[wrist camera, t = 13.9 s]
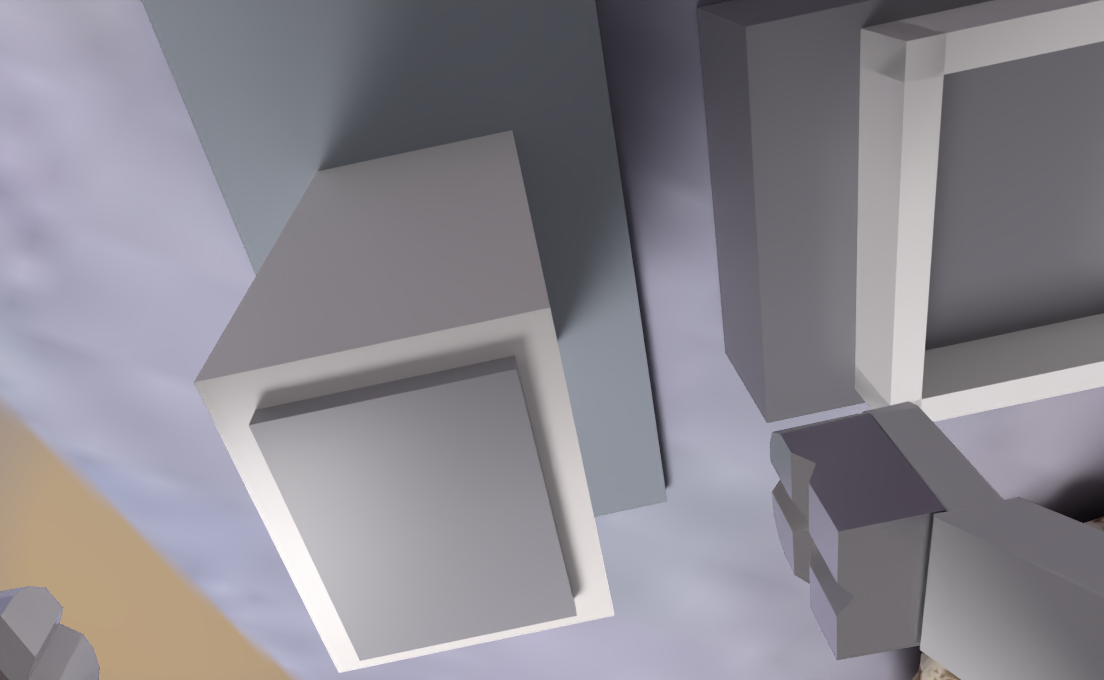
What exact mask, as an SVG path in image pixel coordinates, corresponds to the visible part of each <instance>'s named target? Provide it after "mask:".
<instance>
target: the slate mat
mask: <svg viewBox="0 0 1104 680" xmlns="http://www.w3.org/2000/svg"><path fill="white" fill-rule="evenodd" d="M142 3H143V5H144V7H145V10H146V12H147V15H148V17H149V19H150V22H151V24H152V27H153V29H154V31H155V34H156V36H157V39H158V41H159V43H160V46H161V48H162V51H163V53H164V56H165V58H166V60H167V63H168V65H169V68H170V70H171V72H172V75H173V77H174V80H175V82H176V84H177V87H178V89H179V92H180V94H181V96H182V99H183V101H184V104H185V106H186V108H187V111H188V113H189V116H190V118H191V120H192V123H193V125H194V128H195V130H196V132H197V135H198V137H199V140H200V142H201V144H202V147H203V149H204V152H205V154H206V156H207V159H208V161H209V164H210V166H211V169H212V171H213V173H214V176H215V178H216V181H217V183H218V185H219V188H220V190H221V193H222V195H223V197H224V200H225V202H226V205H227V207H228V209H229V212H230V214H231V217H232V219H233V221H234V224H235V226H236V229H237V231H238V233H239V236H240V238H241V241H242V243H243V245H244V248H245V250H246V253H247V255H248V257H249V260H250V262H251V265H252V267H253V269H254V272H255V274H256V275H257V274H258V272H259V270H260V269H261V267H262V265H263V263H264V262H265V260H266V258H267V257H268V255H269V253H270V252H271V250H272V248H273V246H274V245H275V243H276V241H277V240H278V238H279V236H280V234H281V233H282V231H283V229H284V228H285V226H286V224H287V222H288V221H289V219H290V217H291V216H292V214H293V212H294V211H295V209H296V207H297V205H298V204H299V202H300V200H301V199H302V197H303V195H304V193H305V192H306V190H307V188H308V187H309V185H310V183H311V181H312V180H313V178H314V176H315V175H316V173H317V171H321V170H326V169H331V168H335V167H340V166H345V165H349V164H354V163H359V162H364V161H368V160H373V159H378V158H383V157H387V156H392V155H397V154H401V153H406V152H411V151H416V150H420V149H425V148H430V147H435V146H439V145H444V144H449V143H453V142H458V141H463V140H468V139H472V138H477V137H482V136H487V135H491V134H496V133H501V132H505V131H510V130H512V131H513V136H514V140H515V145H516V150H517V154H518V159H519V164H520V168H521V173H522V178H523V182H524V187H525V192H526V196H527V201H528V206H529V210H530V215H531V220H532V224H533V229H534V234H535V238H536V243H537V248H538V252H539V257H540V262H541V266H542V271H543V276H544V281H545V285H546V290H547V295H548V299H549V304H550V309H551V313H552V318H553V323H554V328H555V332H556V337H557V342H558V347H559V352H560V356H561V361H562V366H563V371H564V376H565V380H566V385H567V390H568V395H569V399H570V404H571V409H572V414H573V419H574V423H575V428H576V433H577V438H578V442H579V447H580V452H581V457H582V462H583V466H584V471H585V476H586V481H587V486H588V490H589V495H590V500H591V505H592V509H593V514H594V517H595V516H600V515H605V514H610V513H615V512H619V511H624V510H629V509H634V508H639V507H643V506H648V505H653V504H658V503H662V502H667V497H666V490H665V483H664V476H663V469H662V462H661V455H660V448H659V441H658V434H657V427H656V420H655V413H654V406H653V399H652V392H651V385H650V378H649V371H648V365H647V358H646V351H645V344H644V337H643V330H642V323H641V316H640V309H639V302H638V295H637V288H636V281H635V274H634V267H633V260H632V253H631V246H630V239H629V232H628V225H627V218H626V211H625V204H624V197H623V190H622V183H621V176H620V169H619V162H618V155H617V149H616V142H615V135H614V128H613V121H612V114H611V107H610V100H609V93H608V86H607V79H606V72H605V65H604V58H603V51H602V44H601V37H600V30H599V23H598V16H597V9H596V2H595V0H142Z"/></svg>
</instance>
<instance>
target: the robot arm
mask: <svg viewBox="0 0 1104 680" xmlns="http://www.w3.org/2000/svg"><path fill="white" fill-rule="evenodd" d="M770 458H771V463H772V465H773V466H774V468H775V470H776V472H777V474H778V476H779V478H780V481H779V482H778V484H777V485H776V487H775V488H774V489H773V491H772V498H773V511H774V518H775V522H776V527H777V531H778V536H779V539H780V542H781V545H782V548H783V550H784V553H785V556H786V558H787V560H788V562H789V564H790V566H791V569H792V571H793V573H794V575H796V576H798V577H799V578H801V579H803V580H804V581H806V582H808V583H809V584H810V608H811V610H812V612H813V614H814V616H815V618H816V620H817V622H818V624H819V626H820V628H821V630H822V632H823V634H824V636H825V638H826V640H827V642H828V644H829V646H830V648H831V650H832V652H833V654H834V656H835V658H836V660H841V659H846V658H852V657H858V656H863V655H869V654H875V653H880V652H886V651H892V650H897V649H903V648H909V647H914V646H920V650H921V651H922V652H924V653H925V654H926V655H928V656H929V657H930V658H932V659H933V660H935V661H936V662H937V663H939V664H940V665H941V666H943V667H944V668H945V669H947V670H948V671H950V672H951V673H952V674H954V675H955V676H956V677H958V678H959V679H961V680H1104V532H1103V531H1101V530H1099V529H1096V528H1094V527H1091V526H1089V525H1086V524H1084V523H1081V522H1079V521H1077V520H1074V519H1072V518H1069V517H1067V516H1064V515H1062V514H1059V513H1057V512H1055V511H1052V510H1050V509H1047V508H1045V507H1042V506H1040V505H1037V504H1035V503H1032V502H1030V501H1028V500H1025V499H1023V498H1020V497H1017V498H1012V499H1007V500H1004V499H1003V498H1002V497H1001V496H1000V495H999V494H998V492H997V491H996V490H995V489H994V488H993V487H992V486H991V485H990V484H989V483H988V481H987V480H986V479H985V478H984V477H983V476H982V475H981V474H980V473H979V472H978V471H977V469H976V468H975V467H974V466H973V465H972V464H971V463H970V462H969V461H968V460H967V459H966V457H965V456H964V455H963V454H962V453H961V452H960V451H959V450H958V449H957V448H956V447H955V445H954V444H953V443H952V442H951V441H950V440H949V439H948V438H947V437H946V436H945V435H944V433H943V432H942V431H941V430H940V429H939V428H938V427H937V426H936V425H935V424H934V422H933V421H932V420H931V419H930V418H929V417H928V416H927V415H926V414H925V413H924V412H923V410H922V409H921V408H920V407H919V406H918V405H916V404H913V403H911V402H909V401H907V402H903V403H899V404H894V405H890V406H886V407H881V408H877V409H873V410H868V411H864V412H863V413H862V414H855V415H850V416H845V417H841V418H836V419H831V420H827V421H822V422H817V423H813V424H808V425H803V426H798V427H794V428H789V429H784V430H780V431H775V432H772V436H771V441H770ZM62 610H63V607H62V606H61V605H60V603H59V602H58V601H57V600H56V598H55V597H54V596H53V595H52V594H51V593H50V592H49V590H48V589H47V588H45V587H33V586H27V587H21V588H16V589H10V590H5V591H0V680H99V670H100V667H99V664H98V661H97V658H96V654H95V651H94V649H93V647H92V646H91V644H90V643H89V641H88V640H87V639H86V637H85V636H84V635H83V634H82V633H79V632H77V631H75V630H73V629H71V628H69V627H66V626H64V625H62V624H60V620H61V615H62Z"/></svg>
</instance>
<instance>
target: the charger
mask: <svg viewBox="0 0 1104 680" xmlns="http://www.w3.org/2000/svg"><path fill="white" fill-rule="evenodd" d="M194 384H195V386H196V388H197V390H198V392H199V394H200V396H201V398H202V400H203V402H204V404H205V406H206V408H207V410H208V412H209V414H210V416H211V418H212V420H213V422H214V424H215V426H216V428H217V430H218V432H219V434H220V436H221V438H222V440H223V442H224V444H225V446H226V448H227V450H228V452H229V454H230V456H231V458H232V460H233V462H234V464H235V466H236V468H237V470H238V472H239V474H240V476H241V478H242V480H243V482H244V484H245V486H246V488H247V490H248V492H249V494H250V496H251V498H252V500H253V502H254V504H255V506H256V508H257V510H258V512H259V514H260V516H261V518H262V520H263V522H264V524H265V526H266V528H267V530H268V532H269V534H270V536H271V538H272V540H273V542H274V544H275V546H276V548H277V550H278V552H279V554H280V556H281V558H282V560H283V562H284V564H285V566H286V568H287V570H288V572H289V574H290V576H291V578H292V580H293V582H294V584H295V586H296V588H297V590H298V592H299V594H300V596H301V598H302V600H303V602H304V604H305V606H306V608H307V610H308V612H309V614H310V616H311V618H312V620H313V622H314V624H315V626H316V628H317V630H318V632H319V634H320V636H321V638H322V640H323V642H324V644H325V646H326V648H327V650H328V652H329V654H330V656H331V658H332V660H333V662H334V664H335V666H336V668H337V670H338V672H339V673H341V672H346V671H350V670H355V669H360V668H365V667H370V666H374V665H379V664H384V663H389V662H394V661H398V660H403V659H408V658H413V657H418V656H422V655H427V654H432V653H437V652H442V651H446V650H451V649H456V648H461V647H466V646H470V645H475V644H480V643H485V642H490V641H494V640H499V639H504V638H509V637H514V636H518V635H523V634H528V633H533V632H538V631H542V630H547V629H552V628H557V627H562V626H566V625H571V624H576V623H581V622H586V621H590V620H595V619H600V618H605V617H610V616H614V610H613V605H612V600H611V595H610V591H609V586H608V581H607V576H606V572H605V567H604V562H603V557H602V552H601V548H600V543H599V538H598V533H597V529H596V524H595V519H594V514H593V509H592V505H591V500H590V495H589V490H588V486H587V481H586V476H585V471H584V466H583V462H582V457H581V452H580V447H579V442H578V438H577V433H576V428H575V423H574V419H573V414H572V409H571V404H570V399H569V395H568V390H567V385H566V380H565V376H564V371H563V366H562V361H561V356H560V352H559V347H558V342H557V337H556V332H555V328H554V323H553V318H552V313H551V309H550V304H549V299H548V295H547V290H546V285H545V281H544V276H543V271H542V266H541V262H540V257H539V252H538V248H537V243H536V238H535V234H534V229H533V224H532V220H531V215H530V210H529V206H528V201H527V196H526V192H525V187H524V182H523V178H522V173H521V168H520V164H519V159H518V154H517V150H516V145H515V140H514V136H513V131H512V130H510V131H505V132H501V133H496V134H491V135H487V136H482V137H477V138H472V139H468V140H463V141H458V142H453V143H449V144H444V145H439V146H435V147H430V148H425V149H420V150H416V151H411V152H406V153H401V154H397V155H392V156H387V157H383V158H378V159H373V160H368V161H364V162H359V163H354V164H349V165H345V166H340V167H335V168H331V169H326V170H321V171H317V173H316V175H315V176H314V178H313V180H312V181H311V183H310V185H309V187H308V188H307V190H306V192H305V193H304V195H303V197H302V199H301V200H300V202H299V204H298V205H297V207H296V209H295V211H294V212H293V214H292V216H291V217H290V219H289V221H288V222H287V224H286V226H285V228H284V229H283V231H282V233H281V234H280V236H279V238H278V240H277V241H276V243H275V245H274V246H273V248H272V250H271V252H270V253H269V255H268V257H267V258H266V260H265V262H264V263H263V265H262V267H261V269H260V270H259V272H258V274H257V275H256V277H255V279H254V281H253V282H252V284H251V286H250V287H249V289H248V291H247V293H246V294H245V296H244V298H243V299H242V301H241V303H240V305H239V306H238V308H237V310H236V311H235V313H234V315H233V316H232V318H231V320H230V322H229V323H228V325H227V327H226V328H225V330H224V332H223V334H222V335H221V337H220V339H219V340H218V342H217V344H216V346H215V347H214V349H213V351H212V352H211V354H210V356H209V357H208V359H207V361H206V363H205V364H204V366H203V368H202V369H201V371H200V373H199V375H198V376H197V378H196V380H195V381H194Z"/></svg>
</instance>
